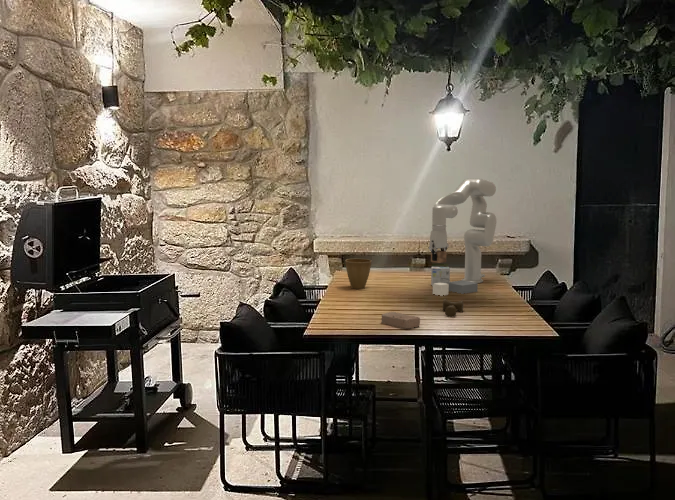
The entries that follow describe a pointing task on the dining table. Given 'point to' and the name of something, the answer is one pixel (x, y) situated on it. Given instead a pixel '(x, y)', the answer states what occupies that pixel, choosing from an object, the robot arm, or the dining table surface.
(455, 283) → the base block
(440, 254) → the walnut cube
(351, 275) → the plant pot
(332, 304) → the dining table surface
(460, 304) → the kendama
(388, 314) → the brick
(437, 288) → the off-white cube
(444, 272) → the light bulb box
